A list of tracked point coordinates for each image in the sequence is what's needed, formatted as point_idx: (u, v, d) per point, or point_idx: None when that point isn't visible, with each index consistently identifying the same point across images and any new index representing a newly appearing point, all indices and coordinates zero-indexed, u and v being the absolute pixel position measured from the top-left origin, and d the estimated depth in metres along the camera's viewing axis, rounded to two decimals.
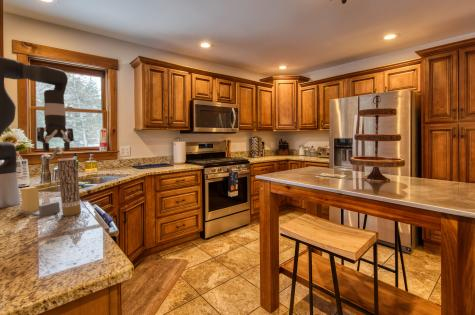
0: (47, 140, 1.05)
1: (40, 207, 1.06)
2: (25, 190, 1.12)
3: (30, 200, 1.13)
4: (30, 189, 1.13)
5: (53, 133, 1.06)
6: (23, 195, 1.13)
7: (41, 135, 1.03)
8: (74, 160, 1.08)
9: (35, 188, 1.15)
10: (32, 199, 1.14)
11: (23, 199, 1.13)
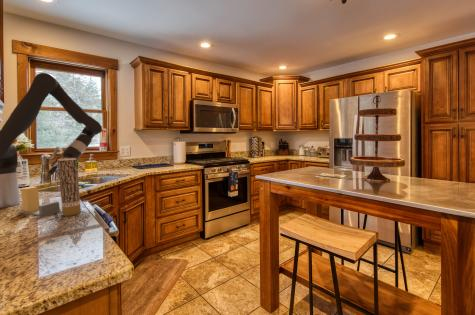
0: None
1: (40, 207, 1.06)
2: (25, 190, 1.12)
3: (30, 200, 1.13)
4: (30, 189, 1.13)
5: None
6: (23, 195, 1.13)
7: None
8: (74, 160, 1.08)
9: (35, 188, 1.15)
10: (32, 199, 1.14)
11: (23, 199, 1.13)
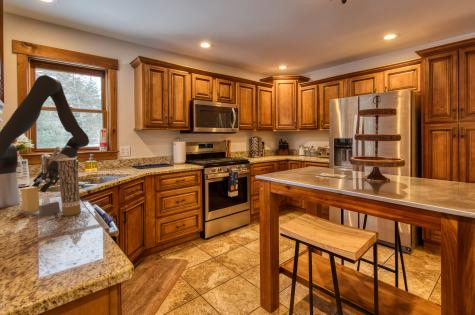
0: None
1: (40, 207, 1.06)
2: (25, 190, 1.12)
3: (30, 200, 1.13)
4: (30, 189, 1.13)
5: None
6: (23, 195, 1.13)
7: None
8: (74, 160, 1.08)
9: (35, 188, 1.15)
10: (32, 199, 1.14)
11: (23, 199, 1.13)
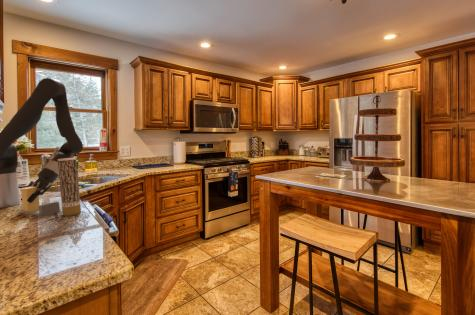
0: None
1: (40, 207, 1.06)
2: (25, 190, 1.12)
3: None
4: (30, 189, 1.13)
5: None
6: (23, 195, 1.13)
7: (45, 191, 1.16)
8: (74, 160, 1.08)
9: None
10: None
11: (23, 199, 1.13)
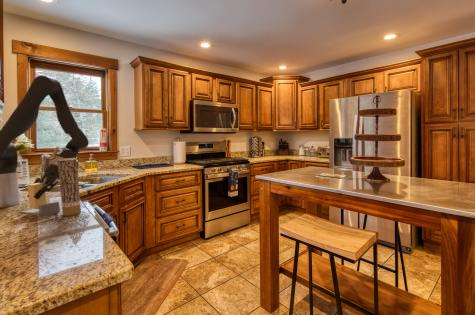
0: None
1: (40, 207, 1.06)
2: (32, 186, 1.10)
3: None
4: (37, 185, 1.11)
5: None
6: (30, 191, 1.11)
7: (52, 187, 1.14)
8: (74, 160, 1.08)
9: None
10: None
11: (30, 195, 1.11)
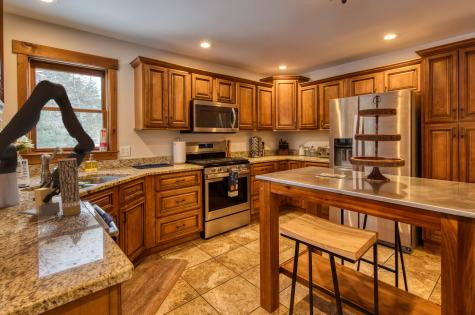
0: None
1: (40, 207, 1.06)
2: (39, 191, 1.08)
3: None
4: (44, 190, 1.09)
5: None
6: (36, 196, 1.09)
7: None
8: (74, 160, 1.08)
9: None
10: None
11: (36, 200, 1.09)
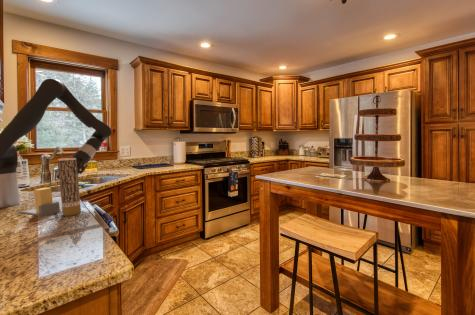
0: None
1: (40, 207, 1.06)
2: (39, 191, 1.08)
3: (44, 202, 1.09)
4: (44, 190, 1.09)
5: None
6: (36, 196, 1.09)
7: None
8: (74, 160, 1.08)
9: (49, 189, 1.11)
10: (46, 201, 1.10)
11: (36, 200, 1.09)
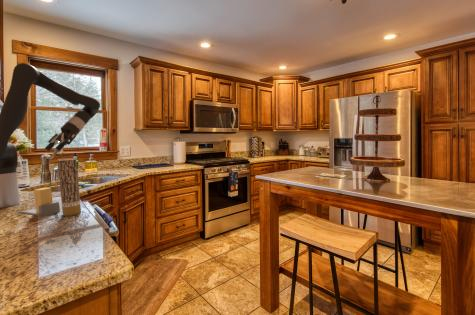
0: None
1: (40, 207, 1.06)
2: (39, 191, 1.08)
3: (44, 202, 1.09)
4: (44, 190, 1.09)
5: None
6: (36, 196, 1.09)
7: (71, 140, 1.23)
8: (74, 160, 1.08)
9: (49, 189, 1.11)
10: (46, 201, 1.10)
11: (36, 200, 1.09)
